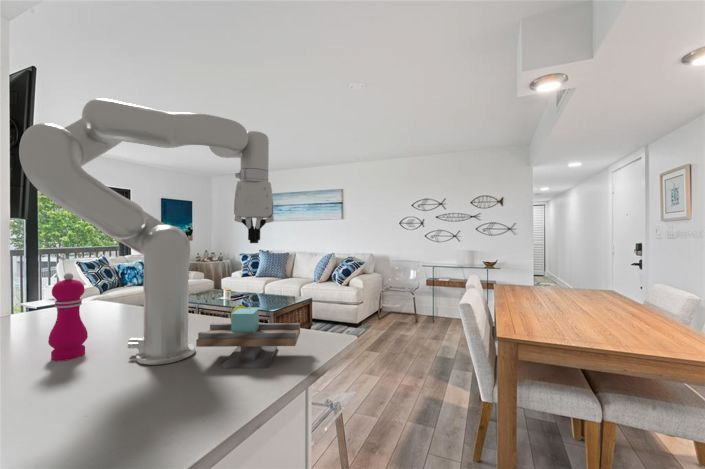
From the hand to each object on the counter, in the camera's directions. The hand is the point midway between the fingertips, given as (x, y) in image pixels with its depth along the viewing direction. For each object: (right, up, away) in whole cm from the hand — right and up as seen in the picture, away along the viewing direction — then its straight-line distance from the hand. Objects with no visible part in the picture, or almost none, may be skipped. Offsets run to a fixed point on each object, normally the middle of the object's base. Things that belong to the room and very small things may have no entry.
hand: (254, 242), depth 94 cm
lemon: (-7, -27, +8) cm, 29 cm away
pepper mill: (-41, -27, -13) cm, 51 cm away
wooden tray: (+3, -27, -13) cm, 31 cm away
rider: (+2, -21, -14) cm, 25 cm away
